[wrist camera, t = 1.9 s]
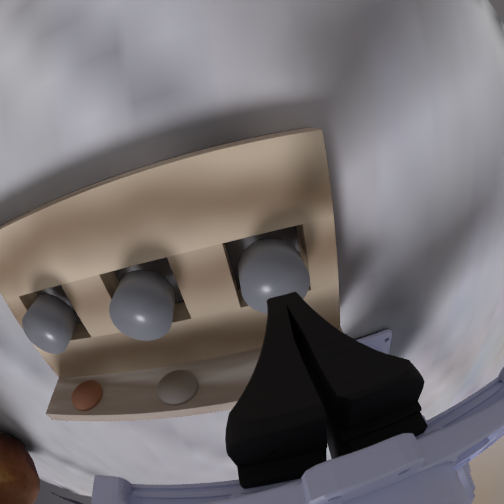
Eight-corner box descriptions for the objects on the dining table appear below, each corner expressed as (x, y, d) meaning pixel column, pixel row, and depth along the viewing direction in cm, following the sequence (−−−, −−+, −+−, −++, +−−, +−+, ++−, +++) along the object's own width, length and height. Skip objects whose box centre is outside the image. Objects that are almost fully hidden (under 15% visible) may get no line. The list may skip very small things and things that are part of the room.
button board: (331, 319, 22) (360, 377, 16) (71, 368, 21) (53, 420, 16) (310, 127, 15) (358, 137, 10) (-10, 231, 15) (-57, 271, 10)
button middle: (183, 313, 18) (181, 334, 16) (132, 323, 18) (126, 344, 16) (162, 263, 16) (157, 282, 14) (108, 277, 16) (98, 296, 14)
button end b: (85, 331, 17) (76, 351, 16) (50, 337, 17) (41, 355, 16) (60, 289, 16) (48, 308, 14) (25, 298, 16) (13, 315, 14)
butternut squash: (-29, 410, 25) (-61, 518, 3) (21, 429, 27) (-6, 559, 5) (10, 450, 32) (-9, 545, 9) (60, 466, 33) (47, 574, 11)
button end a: (303, 284, 18) (313, 304, 16) (245, 299, 18) (249, 320, 16) (295, 231, 16) (306, 246, 14) (231, 246, 16) (233, 264, 14)
